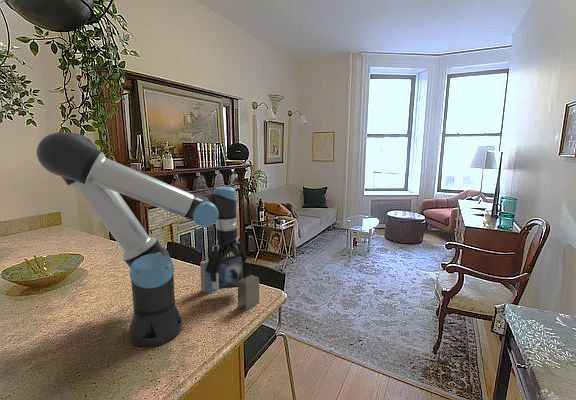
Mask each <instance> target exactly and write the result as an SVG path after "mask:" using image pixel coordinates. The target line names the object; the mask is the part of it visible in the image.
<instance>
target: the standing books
mask: <svg viewBox="0 0 576 400" xmlns="http://www.w3.org/2000/svg"><path fill="white" fill-rule="evenodd" d="M208 260H209V258H208V259H206V260H203V261H201V262H199V264H200V265H199V266H200V269H199V270H200V291H201V292H203V293H205V294H208V295H210V294H212V293H214V292H216V291H217V290H215V289H213V288H212V281H211V274H209V273H207V272H206V267H207V264H208Z"/></svg>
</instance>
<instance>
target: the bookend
mask: <svg viewBox="0 0 576 400" xmlns="http://www.w3.org/2000/svg"><path fill="white" fill-rule="evenodd" d="M259 303H260V277H258V276H256V275H253V274H250V275H248V276H246V277H244V278H243V277H242V279H241V280H239V281H238V287H237V308H239V309H241V310H244V311H245V312H246V311H249V310H250V309H251V308H252V307H255V306H256V305H258V304H259Z"/></svg>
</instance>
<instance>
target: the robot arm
mask: <svg viewBox="0 0 576 400" xmlns="http://www.w3.org/2000/svg"><path fill="white" fill-rule="evenodd" d="M36 158H37V160H38V162H39V163H40V165H41V166H42V168H44V169H45V170H46V171H48V172H49V173H51V174H53V175H54V176H55V175H56V176H59V177H61V179H62V180H63V182H65V183H66V185H67V186H68V187H70V188H73V189H74V188H76V189H77V190H78V191H79V193H80V194H81V195H82V197H83V198H84V200H85V201H86V202H87V204H89V206H90V207H91V209H92V211H94V213H95V214H96V215H97V217H98V218H99V220H100V221H101V222H102V224H104V226H105V227H106V229H107V230H108V232H109V233H110V234H111V236H112V237H113V238H114V240H115V241H116V242H117V244H118V245H119V246H120V248H121V249H122V250H123V256H122V259H123V260H124V262H125V263H126V264H127V266H128V268H129V269H130V270H129V278H130V279H131V280H130V282H131V294H132V308H133V314H132V318H131V321H130V325H129V327H128V339H129V342H130V343H131V344H132V345H134V346H136V347H141V348H150V347H152V348H153V347H156V346H161V345H164V344H165V343H168V342H170V341H172V340H174V339H175V338H176V337H177V336H178V335H179V334H180V333H181V332H182V329H183V321H182V317H181V314H180V312H179V310H178V308H177V305H176V298H175V297H176V295H175V278H174V277H175V275H174V271H175V266H174V262H173V260H172V258H171V256H170V254H169V252H168V250H167V249H166V248H165V247H163V246H162V244H161V243H160V241H159V240H158V239H157V238H156V237H152V236H149V234H148V232H146V230H145V228H144V227H143V226H142V224H141V222H140V221H139V220H138V219H137V216H135V214H134V212H133V211H132V210H131V208H130V206H128V204H127V203H126V201H125V200H124V199H123V196H122V195H124V196H126V197H129V198H132V199H133V200H138V201H140V202H142V203H144V204H147V205H150V206H153V207H156V208H159V209H161V210H163V211H166V212H169V213H172V214H173V215H174V214H175V215H178V216H179V217H182V218H185V219H187V220H190V221H191V222H192V221H193V222H194V223H196V225H198V226H200V227H203V228H207V227H211V226H213V225H214V224H215V228H216V240H217V244H216V245H213V244H211V245H210V253H209V257H208V259H209V260H208V259H207V260H208V264H207V267H206V272H207V273H209V274H211V281H212V288H213V289H215V290H216V291H219V290H220V289H219V274H218V273H217V270H218V268H219V266H220V264H221V261H222V259H223V257H226V256H227V254H229V253H231V254H232V256H241V259H242V270H243V269H244V263H245V262H246V260H247V258H248V256H247V254H246V251H245V248H244V245H243V238H242V237H238V230H237V226H238V225H237V221H238V220H237V194H236V193H237V192H236V189H235V188H234V187H233V186H232V187H231V186H220V187H216V188H215V189H214V192H213V193H203V194H202V193H199V194H197V193H196V194H193V193H191V192H187V191H185V190H183V189H181V188H178V187H176V186H173V185H171V184H168V183H166V182H164V181H161V180H159V179H157V178H155V177H152V176H150V175H148V174H145V173H143V172H141V171H138V170H136V169H134V168H131V167H128V166H127V165H124V164H121V163H119V162H117V161H115V160H112V159H110V158H108V157H106V156H105V154H104V152H103V151H101V150H98V147H97V145H96V144H95V143H94V142H93V141H92V140H91V139H90V138H88V137H86V136H84V135H82V134H78V133H74V132H61V131H60V132H58V131H57V132H53V133H50V134H48V135H46V136H44V137H43V138H42V139H41V140H40V141H39V142H38V145H37V148H36ZM121 194H122V195H121Z"/></svg>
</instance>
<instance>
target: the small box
mask: <svg viewBox="0 0 576 400" xmlns="http://www.w3.org/2000/svg"><path fill="white" fill-rule="evenodd" d="M217 273H218V274H219V290H223V289H231V288H232V289H233V288H238V281H239V280H241V279H243V269H242V259H241V256H234V255H232V256H224V257H223V259H222V261H221V264H220V266H219V268H218V270H217Z"/></svg>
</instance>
